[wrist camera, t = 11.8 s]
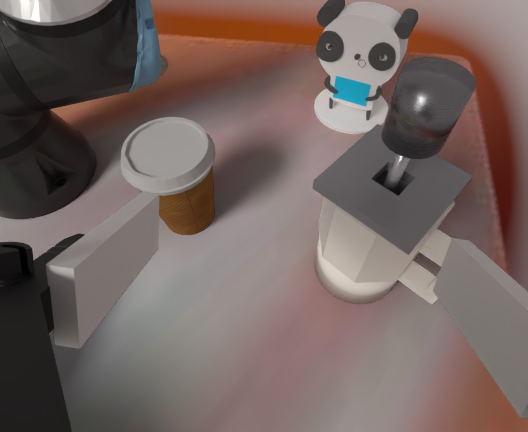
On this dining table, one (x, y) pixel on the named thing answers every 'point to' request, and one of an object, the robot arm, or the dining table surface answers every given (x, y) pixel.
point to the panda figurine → (359, 61)
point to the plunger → (424, 111)
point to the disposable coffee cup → (173, 170)
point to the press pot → (382, 221)
